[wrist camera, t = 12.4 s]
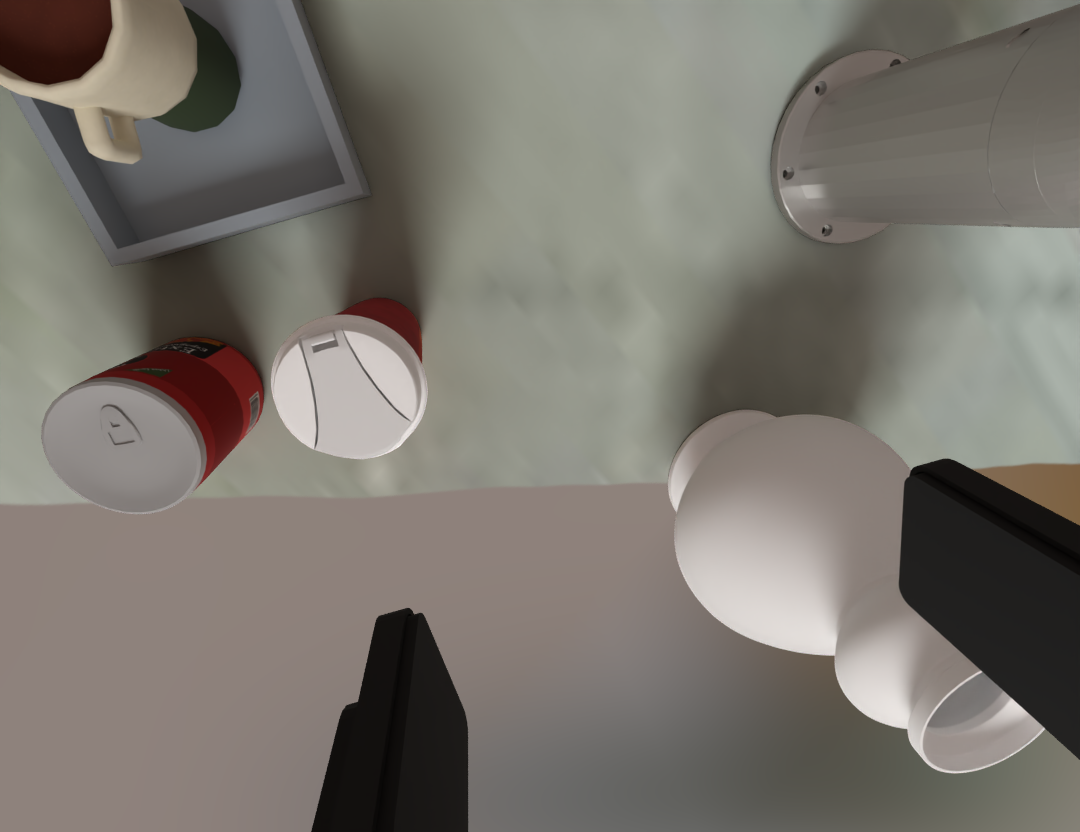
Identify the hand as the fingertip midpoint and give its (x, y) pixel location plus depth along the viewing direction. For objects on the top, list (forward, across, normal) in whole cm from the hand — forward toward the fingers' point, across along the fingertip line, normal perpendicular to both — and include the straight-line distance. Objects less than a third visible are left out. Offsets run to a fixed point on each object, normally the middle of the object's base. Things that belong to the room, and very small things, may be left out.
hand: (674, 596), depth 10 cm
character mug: (+31, +16, -18) cm, 39 cm away
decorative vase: (+32, -15, +20) cm, 41 cm away
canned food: (+32, +23, 0) cm, 39 cm away
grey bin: (+32, +16, -18) cm, 40 cm away
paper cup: (+32, +10, 0) cm, 34 cm away
